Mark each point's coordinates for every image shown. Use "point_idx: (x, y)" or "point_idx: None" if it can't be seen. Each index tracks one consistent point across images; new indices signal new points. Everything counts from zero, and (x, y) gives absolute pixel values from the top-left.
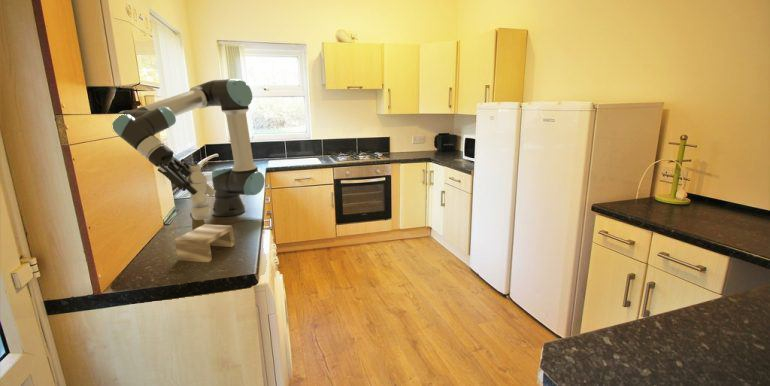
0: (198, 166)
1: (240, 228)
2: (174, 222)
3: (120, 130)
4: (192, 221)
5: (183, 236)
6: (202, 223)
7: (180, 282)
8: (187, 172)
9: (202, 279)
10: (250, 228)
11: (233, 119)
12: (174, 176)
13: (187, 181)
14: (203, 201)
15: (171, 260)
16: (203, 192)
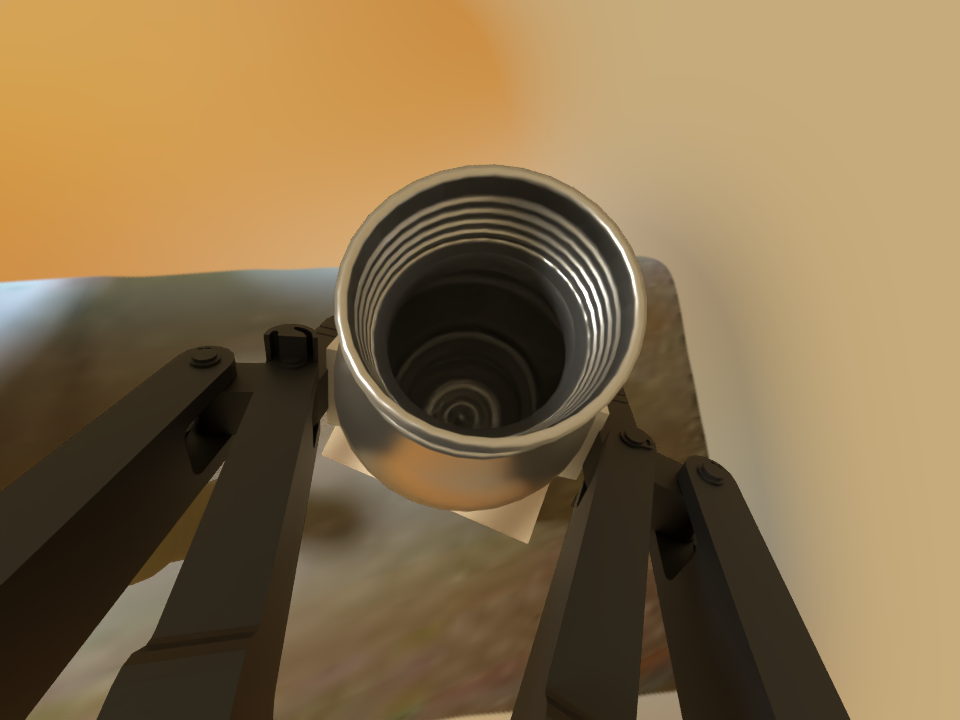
0: (563, 205)
1: (192, 342)
2: None
3: None
4: (175, 559)
5: (497, 510)
6: (197, 500)
7: (697, 452)
8: (285, 559)
9: (685, 388)
10: (211, 298)
11: None
12: (806, 658)
13: (617, 458)
14: (508, 367)
15: (506, 549)
16: (510, 341)
